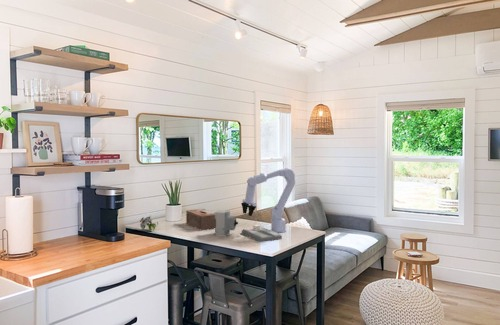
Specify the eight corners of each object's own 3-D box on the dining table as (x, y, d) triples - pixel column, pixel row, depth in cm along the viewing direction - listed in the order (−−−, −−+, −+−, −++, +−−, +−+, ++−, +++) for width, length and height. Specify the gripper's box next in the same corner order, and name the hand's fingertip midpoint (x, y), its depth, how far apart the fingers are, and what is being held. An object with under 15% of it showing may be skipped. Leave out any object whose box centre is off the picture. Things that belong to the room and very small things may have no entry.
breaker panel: (261, 230, 266) (262, 226, 266) (281, 238, 245) (281, 233, 245) (241, 233, 258) (241, 228, 258) (260, 241, 237) (260, 236, 237)
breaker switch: (257, 229, 259) (257, 224, 259) (259, 231, 256) (259, 225, 256) (253, 230, 258) (253, 225, 258) (255, 231, 255) (255, 226, 254)
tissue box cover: (220, 228, 273) (220, 214, 272) (201, 230, 265) (201, 216, 265) (203, 221, 295) (204, 208, 294) (186, 223, 287) (186, 210, 286)
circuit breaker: (235, 236, 250) (236, 213, 249) (214, 234, 253) (215, 212, 252) (238, 233, 257) (238, 211, 256) (218, 232, 260) (218, 210, 259)
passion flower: (142, 238, 263) (136, 222, 266) (157, 233, 269) (150, 218, 273) (146, 231, 254) (139, 216, 258) (161, 226, 261) (154, 211, 264)
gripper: (239, 192, 265) (237, 212, 266) (250, 196, 253) (247, 216, 253) (248, 193, 269) (245, 212, 270) (259, 197, 257) (256, 217, 257)
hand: (247, 214), depth 262 cm, fingers open, 7 cm apart
